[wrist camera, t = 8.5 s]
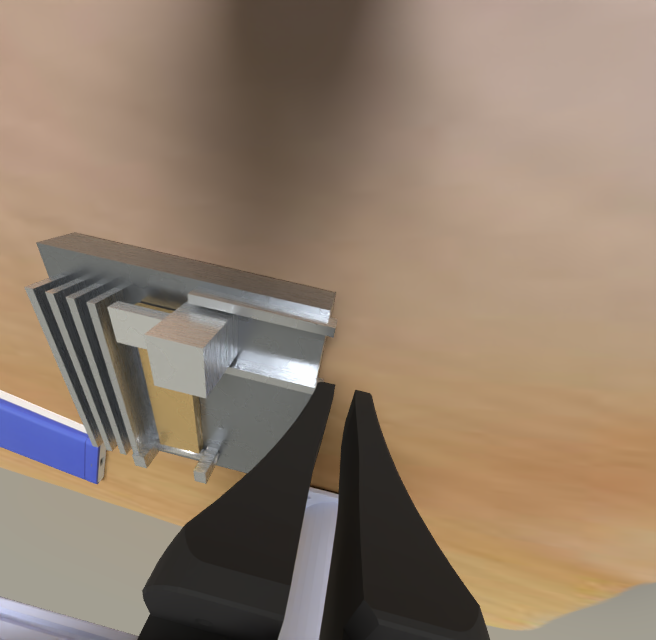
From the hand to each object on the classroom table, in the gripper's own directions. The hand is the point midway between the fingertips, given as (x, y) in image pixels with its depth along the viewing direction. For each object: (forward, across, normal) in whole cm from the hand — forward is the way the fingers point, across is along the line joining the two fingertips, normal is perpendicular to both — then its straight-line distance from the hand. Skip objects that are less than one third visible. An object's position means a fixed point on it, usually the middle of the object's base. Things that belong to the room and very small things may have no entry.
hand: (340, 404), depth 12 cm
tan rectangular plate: (+3, +10, +5) cm, 11 cm away
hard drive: (+6, +26, +18) cm, 32 cm away
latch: (+3, +8, 0) cm, 9 cm away
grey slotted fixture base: (+5, +8, +5) cm, 11 cm away
